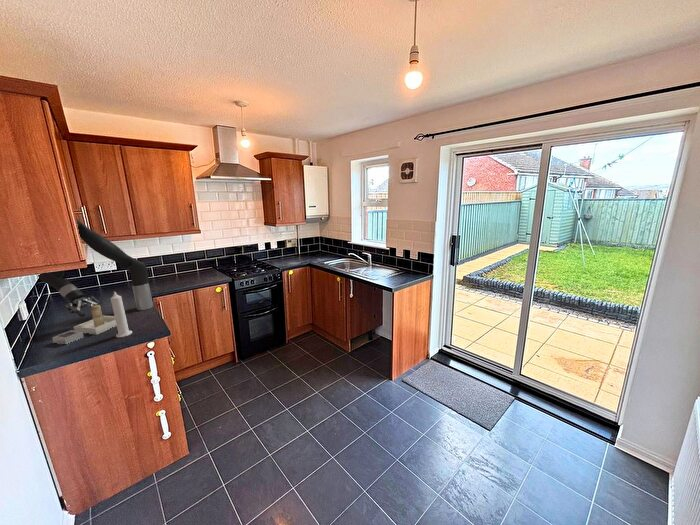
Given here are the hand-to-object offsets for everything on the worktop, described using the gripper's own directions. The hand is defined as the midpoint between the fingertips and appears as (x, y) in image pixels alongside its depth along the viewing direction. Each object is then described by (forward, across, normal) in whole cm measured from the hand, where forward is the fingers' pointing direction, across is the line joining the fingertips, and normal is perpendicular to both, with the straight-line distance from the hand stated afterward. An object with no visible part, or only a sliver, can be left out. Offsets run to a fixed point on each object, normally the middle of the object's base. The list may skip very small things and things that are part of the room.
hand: (92, 313), depth 165 cm
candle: (+26, -6, -13) cm, 30 cm away
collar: (+8, -16, +4) cm, 18 cm away
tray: (+9, 0, +4) cm, 9 cm away
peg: (+8, 0, +3) cm, 8 cm away
